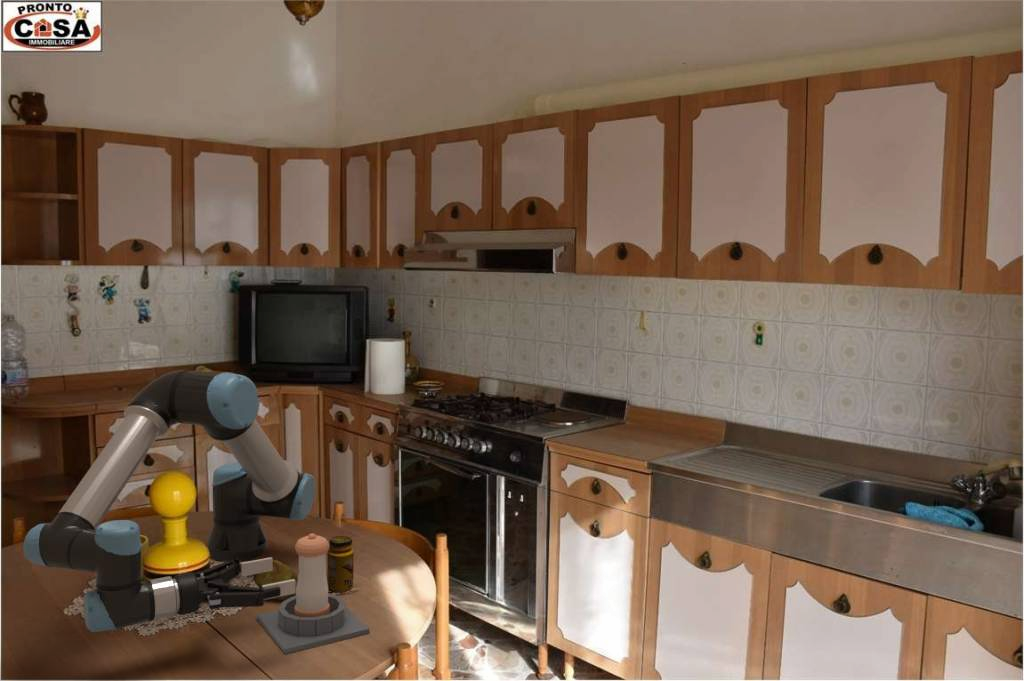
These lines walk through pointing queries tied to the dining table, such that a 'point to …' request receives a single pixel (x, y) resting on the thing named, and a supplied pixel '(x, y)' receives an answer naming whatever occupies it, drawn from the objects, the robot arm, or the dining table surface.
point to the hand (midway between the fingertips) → (283, 574)
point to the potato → (277, 577)
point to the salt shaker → (312, 577)
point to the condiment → (340, 564)
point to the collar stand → (311, 625)
